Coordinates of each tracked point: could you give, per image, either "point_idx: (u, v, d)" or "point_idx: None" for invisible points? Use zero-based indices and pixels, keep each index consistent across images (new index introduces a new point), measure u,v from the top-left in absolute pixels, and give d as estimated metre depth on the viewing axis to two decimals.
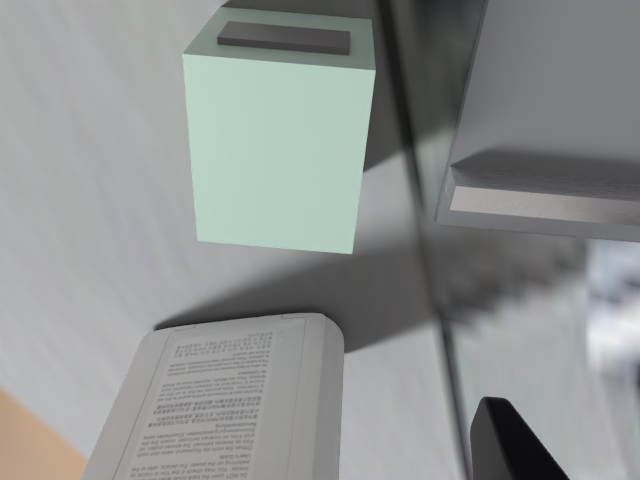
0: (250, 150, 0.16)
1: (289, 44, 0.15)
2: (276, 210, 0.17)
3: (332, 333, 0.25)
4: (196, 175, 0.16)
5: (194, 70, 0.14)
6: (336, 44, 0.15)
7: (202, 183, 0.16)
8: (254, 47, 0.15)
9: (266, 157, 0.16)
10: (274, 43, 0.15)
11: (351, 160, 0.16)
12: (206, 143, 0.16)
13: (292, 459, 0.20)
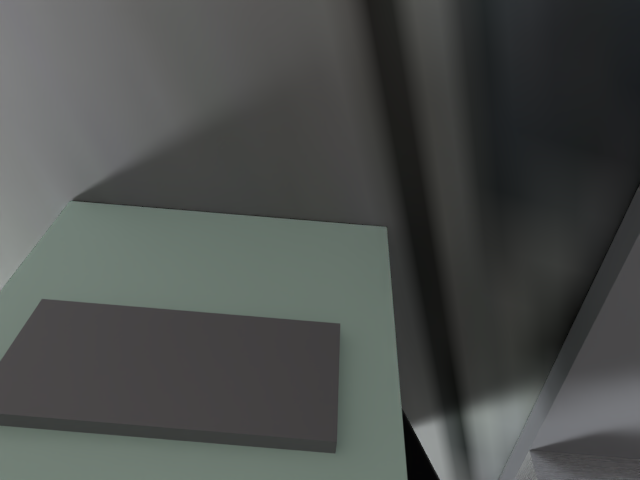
0: None
1: (168, 430, 0.05)
2: None
3: None
4: None
5: None
6: (300, 417, 0.06)
7: None
8: (74, 428, 0.06)
9: None
10: (127, 428, 0.05)
11: None
12: None
13: None
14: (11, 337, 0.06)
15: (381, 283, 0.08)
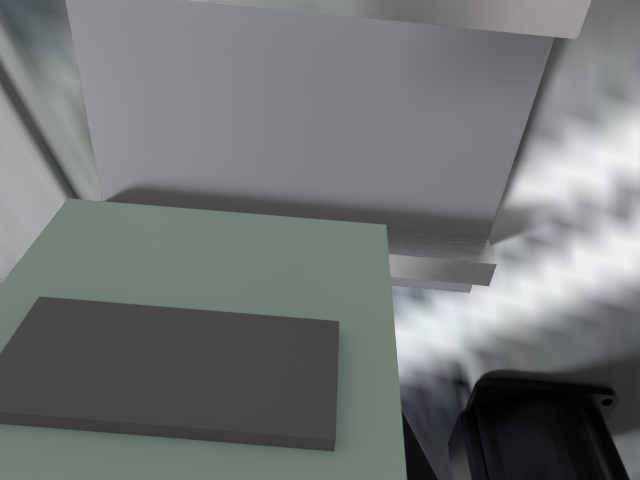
0: None
1: (166, 428, 0.05)
2: None
3: None
4: None
5: None
6: (299, 415, 0.05)
7: None
8: (71, 425, 0.05)
9: None
10: (124, 425, 0.05)
11: None
12: None
13: None
14: (8, 334, 0.06)
15: (380, 281, 0.08)
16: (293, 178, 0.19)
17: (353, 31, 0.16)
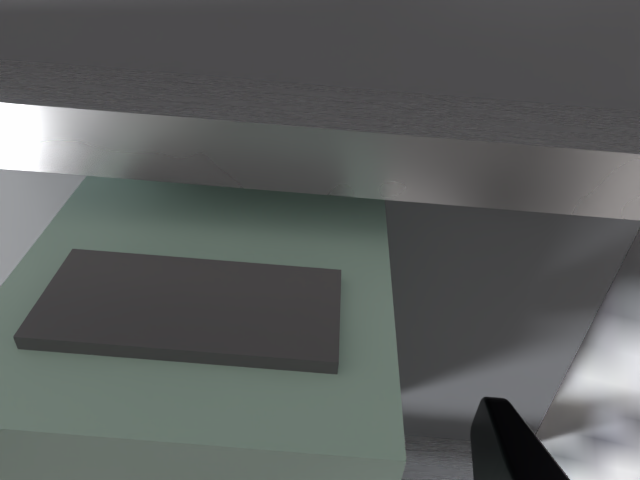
0: None
1: (191, 353, 0.06)
2: None
3: None
4: None
5: None
6: (306, 343, 0.06)
7: None
8: (107, 353, 0.06)
9: None
10: (154, 351, 0.06)
11: None
12: None
13: None
14: (46, 281, 0.07)
15: (378, 238, 0.08)
16: None
17: None
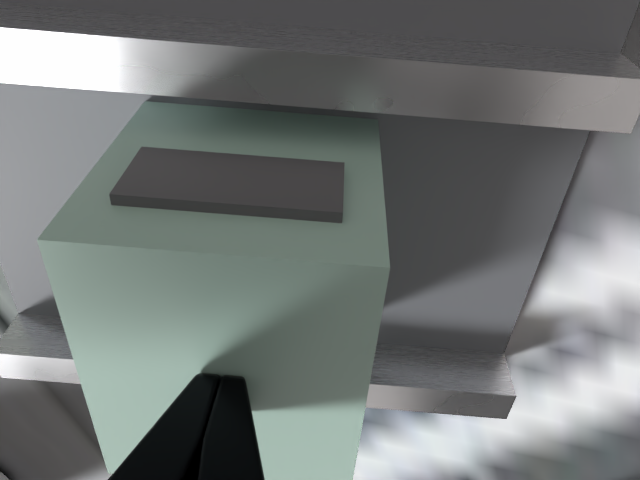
0: (176, 370, 0.09)
1: (236, 206, 0.08)
2: None
3: None
4: (92, 400, 0.10)
5: (63, 263, 0.08)
6: (319, 202, 0.09)
7: (104, 409, 0.10)
8: (175, 208, 0.09)
9: None
10: (210, 204, 0.08)
11: (347, 386, 0.09)
12: (102, 360, 0.09)
13: None
14: (123, 168, 0.10)
15: (373, 148, 0.11)
16: None
17: None
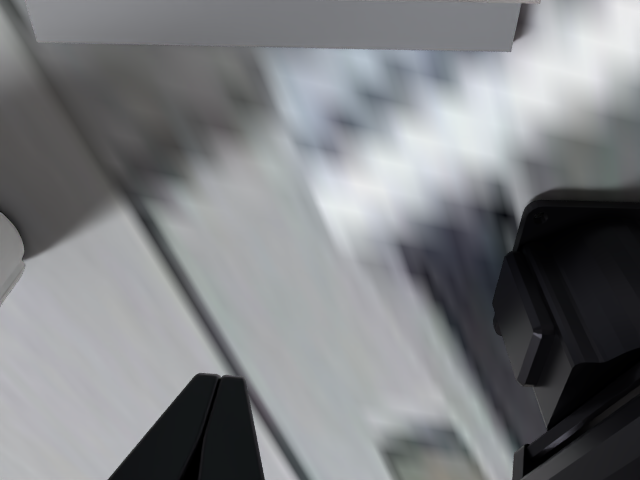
0: None
1: None
2: None
3: None
4: None
5: None
6: None
7: None
8: None
9: None
10: None
11: None
12: None
13: None
14: None
15: None
16: None
17: None
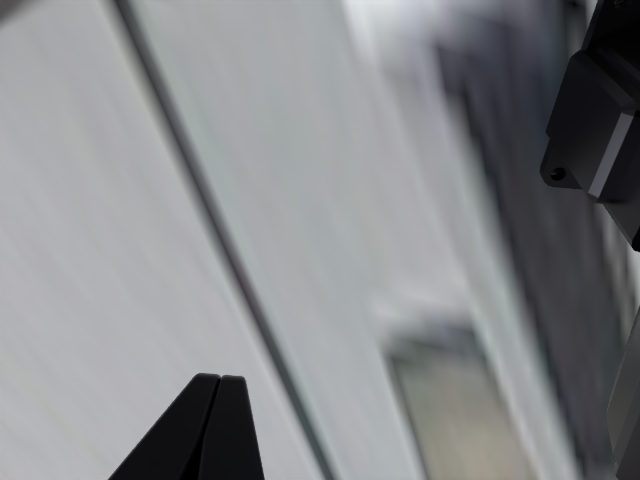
0: None
1: None
2: None
3: None
4: None
5: None
6: None
7: None
8: None
9: None
10: None
11: None
12: None
13: None
14: None
15: None
16: None
17: None
